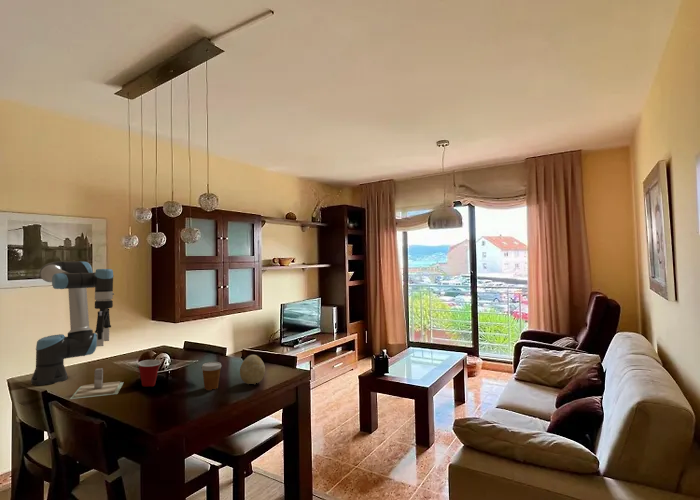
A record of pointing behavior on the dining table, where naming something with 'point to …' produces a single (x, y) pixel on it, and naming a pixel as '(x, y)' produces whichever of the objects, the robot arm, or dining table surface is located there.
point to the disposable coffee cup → (211, 374)
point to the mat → (99, 395)
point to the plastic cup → (148, 372)
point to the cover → (97, 386)
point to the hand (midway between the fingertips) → (103, 343)
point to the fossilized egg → (252, 370)
